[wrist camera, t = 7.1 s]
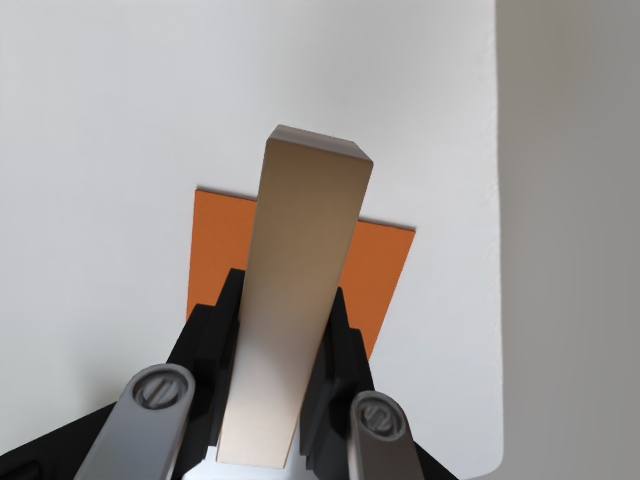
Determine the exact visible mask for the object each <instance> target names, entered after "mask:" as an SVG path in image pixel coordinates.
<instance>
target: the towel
mask: <svg viewBox="0 0 640 480" xmlns="http://www.w3.org/2000/svg"><path fill="white" fill-rule="evenodd" d="M256 203H257V201H253V200H248V199H243V198H238V197H232V196H227V195H222V194H216V193H211V192H206V191H201V190H195V201H194V216H193V230H192V244H191V258H190V273H189V287H188V301H187V315H186V322H187V320H188V318H189V316H190V314H191V312H192V310H193V308H194V306H195V305H196V304H197V303H200V304H206V305H212V306H215V305H216V302H217V300H218V297H219V295H220V292H221V290H222V288H223V285H224V283H225V280H226V278H227V275H228V273H229V271H230V268H235V269H241V270H246V266H247V259H248V253H249V247H250V241H251V234H252V228H253V222H254V216H255V209H256ZM414 235H415V231H412V230H406V229H401V228H396V227H391V226H385V225H380V224H375V223H370V222H364V221H359V220H357V223H356V227H355V230H354V233H353V237H352V240H351V244H350V247H349V251H348V254H347V257H346V261H345V264H344V268H343V271H342V274H341V278H340V281H339V285H338V287H342V290H343V296H344V301H345V306H346V311H347V316H348V322H349V327H350V328H357V329H359V330H360V331H361V333H362V338H363V342H364V346H365V350H366V354H367V359H368V361H369V358H370V355H371V353H372V350H373V347H374V344H375V342H376V339H377V336H378V333H379V331H380V328H381V325H382V323H383V320H384V317H385V314H386V312H387V309H388V306H389V303H390V301H391V298H392V295H393V292H394V290H395V287H396V284H397V282H398V279H399V276H400V273H401V271H402V268H403V265H404V262H405V260H406V257H407V254H408V251H409V249H410V246H411V243H412V241H413V238H414Z"/></svg>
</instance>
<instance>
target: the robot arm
mask: <svg viewBox="0 0 640 480" xmlns="http://www.w3.org/2000/svg"><path fill="white" fill-rule="evenodd" d="M245 272H246V270H241V269H235V268H230V271H229V273H228V275H227V278H226V280H225V283H224V285H223V288H222V290H221V292H220V295H219V297H218V300H217V302H216V305H215V306H212V305H206V304H200V303H197V304H196V305H195V306H194V308H193V310H192V312H191V314H190V316H189V318H188V320H187V322H186V324H185V326H184V328H183V330H182V332H181V334H180V336H179V338H178V340H177V342H176V344H175V346H174V348H173V350H172V352H171V354H170V356H169V358H168V360H167V362H166V364H157V365H153V366H150V367H148V368H145V369H143V370H141V371H140V372H138V373H137V374H136V375H134V376H133V377H132V379H131V380H130V381H129V382H128V384H127V385H126V387H125V389H124V391H123V392H122V394H121V396H120V398H119V399H118V401H116V402H114V403H112V404H110V405H108V406H106V407H104V408H101V409H99V410H97V411H95V412H93V413H91V414H89V415H86V416H84V417H82V418H80V419H78V420H76V421H73V422H71V423H69V424H67V425H65V426H63V427H61V428H58V429H56V430H54V431H52V432H50V433H48V434H46V435H43V436H41V437H39V438H37V439H35V440H33V441H30V442H28V443H26V444H24V445H22V446H20V447H18V448H15V449H13V450H11V451H9V452H7V453H5V454H3V455H1V456H0V480H185V474H186V473H187V472H188V471H190V470H191V469H193V468H194V467H195V466H197V465H198V464H200V463H201V462H202V460H205V458H206V454H207V450H208V446H213V447H216V446H217V442H218V438H219V434H220V430H221V426H222V422H223V418H224V414H225V410H226V405H227V399H228V393H229V387H230V381H231V375H232V369H233V363H234V357H235V351H236V345H237V339H238V333H239V327H240V322H239V321H238V316H239V309H240V303H241V297H242V291H243V284H244V278H245ZM299 453H300V456H306V470H312V471H313V473H314V474H315V475H316V477H317V478H318V479H319V480H459V479H457V478H456V477H455V476H454V475H453V474H452V473H450V472H449V471H448V470H447V469H446V468H445V467H444V466H442V465H441V464H440V463H439V462H438V461H437V460H435V459H434V458H433V457H432V456H431V455H430V454H429V453H427V452H426V451H425V450H424V449H423V448H422V447H420V446H419V445H418V444H417V443H416V442H415V441H413V437H412V434H411V430H410V427H409V423H408V420H407V417H406V415H405V413H404V411H403V409H402V408H401V407H400V406H399V404H398V403H397V402H396V401H394V400H393V399H392V398H391V397H389V396H387V395H385V394H383V393H381V392H377V391H375V388H374V384H373V380H372V376H371V371H370V367H369V363H368V359H367V354H366V350H365V346H364V342H363V338H362V333H361V331H360V330H359V329H357V328H350V327H349V322H348V316H347V311H346V306H345V301H344V296H343V290H342V287H338V288H337V291H336V295H335V298H334V302H333V305H332V308H331V312H330V315H329V319H328V322H327V325H326V329H325V332H324V334H323V337H322V341H321V344H320V348H319V351H318V354H317V358H316V361H315V365H314V368H313V371H312V375H311V378H310V382H309V385H308V388H307V392H306V395H305V399H304V402H303V405H302V409H301V412H300V441H299Z"/></svg>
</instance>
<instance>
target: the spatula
mask: <svg viewBox="0 0 640 480" xmlns="http://www.w3.org/2000/svg"><path fill="white" fill-rule="evenodd" d="M372 169H373V161H372V160H371V159H370V158H369V157H368V156H367V155H366V154H365V153H364V152H363V151H362V150H361V149H360V148H359V147H358V146H357V145H356V144H355V143H354V142H352V141H348V140H344V139H340V138H335V137H331V136H327V135H323V134H318V133H314V132H310V131H306V130H301V129H297V128H293V127H289V126H285V125H278V126H277V127H276V128H275V130H274V131H273V132H272V134H271V135H270V136H269V138H268V139H267V141H266V147H265V153H264V159H263V166H262V172H261V178H260V184H259V191H258V197H257V203H256V209H255V216H254V222H253V228H252V234H251V241H250V247H249V253H248V259H247V266H246V272H245V278H244V284H243V291H242V297H241V303H240V309H239V316H238V321H239V322H240V327H239V333H238V339H237V345H236V351H235V357H234V363H233V369H232V375H231V381H230V387H229V393H228V399H227V405H226V410H225V414H224V418H223V422H222V426H221V430H220V434H219V438H218V442H217V446H216V447H213V446H208V450H207V454H206V458H205V460H202V462H201V463H200V464H198V465H197V466H195V467H194V468H193V469H191V470H190V471H188V472H187V473H186V474H185V480H319V479H318V478H317V477H316V475H315V474H314V473H313V471H312V470H306V456H300V453H299V441H300V412H301V409H302V405H303V402H304V399H305V395H306V392H307V388H308V385H309V382H310V378H311V375H312V371H313V368H314V365H315V361H316V358H317V354H318V351H319V348H320V344H321V341H322V337H323V334H324V332H325V329H326V325H327V322H328V319H329V315H330V312H331V308H332V305H333V302H334V298H335V295H336V291H337V288H338V285H339V281H340V278H341V274H342V271H343V268H344V264H345V261H346V257H347V254H348V251H349V247H350V244H351V240H352V237H353V233H354V230H355V227H356V223H357V220H358V216H359V213H360V210H361V206H362V203H363V199H364V196H365V193H366V189H367V186H368V182H369V179H370V176H371V172H372Z"/></svg>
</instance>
